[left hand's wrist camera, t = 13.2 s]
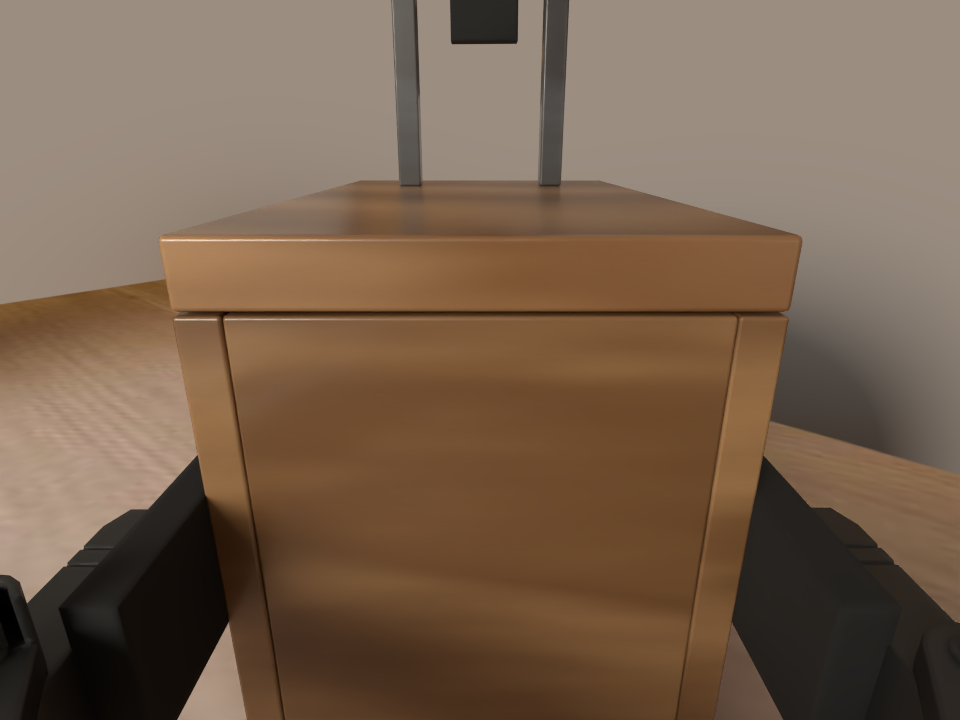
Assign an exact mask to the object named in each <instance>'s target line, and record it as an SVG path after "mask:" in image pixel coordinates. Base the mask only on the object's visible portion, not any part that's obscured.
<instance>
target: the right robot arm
mask: <svg viewBox="0 0 960 720" xmlns="http://www.w3.org/2000/svg"><path fill="white" fill-rule="evenodd" d="M450 13H451V43H452V44H516V43H517V41H518V0H450Z"/></svg>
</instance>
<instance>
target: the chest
mask: <svg viewBox="0 0 960 720" xmlns="http://www.w3.org/2000/svg"><path fill="white" fill-rule="evenodd" d="M173 324H174V330H175V335H176V340H177V346H178V351H179V357H180V362H181V367H182V373H183V378H184V383H185V389H186V394H187V400H188V405H189V410H190V416H191V421H192V426H193V432H194V437H195V443H196V448H197V453H198V459H199V464H200V469H201V475H202V480H203V486H204V491H205V496H206V501H207V506H208V512H209V517H210V522H211V528H212V533H213V539H214V544H215V549H216V555H217V560H218V565H219V571H220V576H221V581H222V587H223V592H224V598H225V603H226V608H227V614H228V619H229V625H230V631H231V636H232V642H233V647H234V652H235V658H236V663H237V668H238V674H239V679H240V685H241V690H242V695H243V701H244V706H245V711H246V717H247V720H714V715H715V710H716V704H717V699H718V694H719V688H720V683H721V678H722V672H723V667H724V662H725V656H726V651H727V646H728V640H729V635H730V630H731V624H732V617H733V612H734V607H735V601H736V596H737V591H738V585H739V580H740V575H741V569H742V564H743V559H744V553H745V548H746V543H747V537H748V532H749V526H750V521H751V516H752V510H753V505H754V500H755V495H756V491H757V486H758V481H759V475H760V470H761V465H762V459H763V454H764V449H765V443H766V438H767V433H768V427H769V422H770V416H771V411H772V406H773V401H774V395H775V389H776V385H777V379H778V374H779V369H780V363H781V358H782V353H783V347H784V342H785V336H786V331H787V326H788V317H787V316H785V315H784V314H782V313H780V312H181V313H179V314H178V315H176V316H174V318H173Z"/></svg>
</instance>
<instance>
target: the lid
mask: <svg viewBox="0 0 960 720" xmlns="http://www.w3.org/2000/svg"><path fill="white" fill-rule="evenodd" d="M391 2H392V24H393V47H394V69H395V91H396V114H397V137H398V159H399V181H358V182H354V183H351V184H347V185H344V186H340V187H336V188H332V189H329V190H325V191H321V192H318V193H314V194H310V195H307V196H303V197H300V198H296V199H292V200H288V201H285V202H281V203H278V204H274V205H270V206H267V207H263V208H259V209H256V210H252V211H249V212H245V213H241V214H238V215H234V216H230V217H226V218H223V219H219V220H216V221H212V222H208V223H204V224H201V225H197V226H194V227H190V228H186V229H183V230H179V231H175V232H172V233H168V234H164V235H162V236H160V238H159V246H160V251H161V256H162V262H163V267H164V273H165V278H166V284H167V289H168V295H169V300H170V305H171V308H172V310H174V311H178V312H784V311H787V310H789V308H790V306H791V300H792V295H793V289H794V284H795V279H796V273H797V268H798V263H799V257H800V252H801V247H802V238H801V236H798V235H796V234H792V233H789V232H785V231H781V230H777V229H774V228H770V227H767V226H763V225H759V224H756V223H752V222H748V221H745V220H741V219H737V218H734V217H730V216H726V215H723V214H719V213H715V212H712V211H708V210H704V209H701V208H697V207H694V206H690V205H686V204H683V203H679V202H675V201H672V200H668V199H664V198H661V197H657V196H653V195H650V194H646V193H642V192H639V191H635V190H631V189H628V188H624V187H620V186H617V185H613V184H609V183H606V182H602V181H561V167H562V144H563V123H564V101H565V79H566V57H567V35H568V13H569V0H544V11H543V41H542V72H541V103H540V133H539V163H538V181H422V151H421V119H420V87H419V56H418V25H417V0H391Z"/></svg>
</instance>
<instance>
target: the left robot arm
mask: <svg viewBox="0 0 960 720" xmlns="http://www.w3.org/2000/svg"><path fill="white" fill-rule="evenodd" d="M228 622H229V619H228V614H227V608H226V603H225V598H224V592H223V587H222V581H221V576H220V571H219V565H218V560H217V555H216V549H215V544H214V539H213V533H212V528H211V522H210V517H209V512H208V506H207V501H206V496H205V491H204V486H203V480H202V475H201V469H200V464H199V459H198V455H197V456H196V457H195V459H194V460H193V461H192V462H191V463H190V464H189V465H188V466H187V467H186V468H185V470H184V471H183V472H182V473H181V474H180V475H179V476H178V477H177V478H176V479H175V481H174V482H173V483H172V484H171V485H170V486H169V487H168V488H167V489H166V490H165V491H164V493H163V494H162V495H161V496H160V497H159V498H158V499H157V500H156V501H155V502H154V504H153V505H152V506H151V507H150V508H149V509H148V510H130V511H128V512H126V513H125V514H123V515H121V516H120V517H118V518H116V519H115V520H113V521H112V522H110V523H108V524H107V525H105V526H103V527H102V528H101V529H100V530H99V531H98V532H97V533H96V534H95V535H94V536H93V538H92V539H91V540H90V541H89V542H88V543H87V544H86V545H85V546H84V549H83V550H80V551H79V552H78V553H77V554H76V555H75V556H74V557H73V558H72V559H71V560H70V561H69V562H68V565H67V567H63V568H62V569H61V570H60V571H59V572H58V573H57V574H56V575H55V576H54V577H53V578H52V579H51V580H50V581H49V582H48V583H47V584H46V585H45V586H44V587H43V588H42V589H41V590H40V591H39V592H38V593H37V594H36V595H35V596H34V597H33V598H32V599H31V600H30V601H29V602H28V603H27V602H26V600H25V597H24V594H23V591H22V588H21V585H20V582H19V581H17V580H16V579H14V578H13V577H11V576H9V575H0V720H177V719H178V717H179V715H180V713H181V711H182V710H183V708H184V706H185V704H186V702H187V700H188V698H189V696H190V694H191V692H192V691H193V689H194V687H195V685H196V683H197V681H198V679H199V677H200V675H201V673H202V672H203V670H204V668H205V666H206V664H207V662H208V660H209V658H210V656H211V655H212V653H213V651H214V649H215V647H216V645H217V643H218V641H219V639H220V637H221V636H222V634H223V632H224V630H225V628H226V626H227V624H228ZM732 623H733V625H734V627H735V629H736V631H737V632H738V634H739V636H740V638H741V640H742V642H743V644H744V646H745V648H746V650H747V651H748V653H749V655H750V657H751V659H752V661H753V663H754V665H755V667H756V669H757V670H758V672H759V674H760V676H761V678H762V680H763V682H764V684H765V686H766V687H767V689H768V691H769V693H770V695H771V697H772V699H773V701H774V703H775V705H776V706H777V708H778V710H779V712H780V714H781V716H782V718H783V720H960V623H956V622H954V621H953V620H952V619H951V618H950V617H949V616H948V615H947V614H946V613H945V612H944V611H943V610H942V609H941V608H940V607H939V606H938V605H937V604H936V603H935V602H934V601H933V600H932V599H931V598H930V597H929V596H928V595H927V594H926V593H925V592H924V591H923V590H922V589H921V588H920V587H919V586H918V585H917V584H916V583H915V582H914V581H913V580H912V579H911V578H910V577H909V575H908V574H907V573H906V572H905V571H904V570H903V569H902V568H901V567H900V566H899V565H894V560H893V559H892V558H891V557H890V556H889V555H888V554H887V553H886V552H885V551H884V550H883V549H882V548H878V547H877V543H876V542H875V541H874V540H873V539H872V538H871V537H870V536H869V535H868V534H867V533H866V532H865V531H864V530H863V529H862V528H861V527H860V526H859V525H858V524H856V523H854V522H853V521H851V520H849V519H848V518H846V517H844V516H843V515H841V514H840V513H838V512H836V511H835V510H833V509H831V508H811V507H810V506H809V505H808V504H807V503H806V502H805V501H804V500H803V498H802V497H801V496H800V495H799V494H798V493H797V492H796V491H795V490H794V489H793V487H792V486H791V485H790V484H789V483H788V482H787V481H786V480H785V479H784V478H783V476H782V475H781V474H780V473H779V472H778V471H777V470H776V469H775V468H774V467H773V466H772V464H771V463H770V462H769V461H768V460H767V459H766V458H765V457H764V456H763V459H762V465H761V470H760V475H759V481H758V486H757V491H756V495H755V500H754V505H753V510H752V516H751V521H750V526H749V532H748V537H747V543H746V548H745V553H744V559H743V564H742V569H741V575H740V580H739V585H738V591H737V596H736V601H735V607H734V612H733V617H732Z"/></svg>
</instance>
